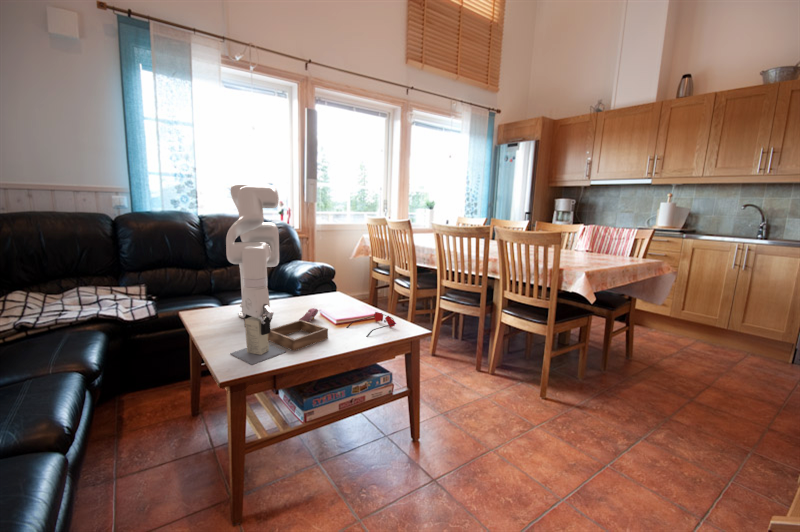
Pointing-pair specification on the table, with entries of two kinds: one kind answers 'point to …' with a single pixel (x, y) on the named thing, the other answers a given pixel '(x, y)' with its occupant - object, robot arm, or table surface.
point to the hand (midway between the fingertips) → (257, 330)
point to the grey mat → (257, 355)
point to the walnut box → (294, 344)
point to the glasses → (379, 318)
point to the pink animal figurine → (309, 315)
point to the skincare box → (255, 336)
